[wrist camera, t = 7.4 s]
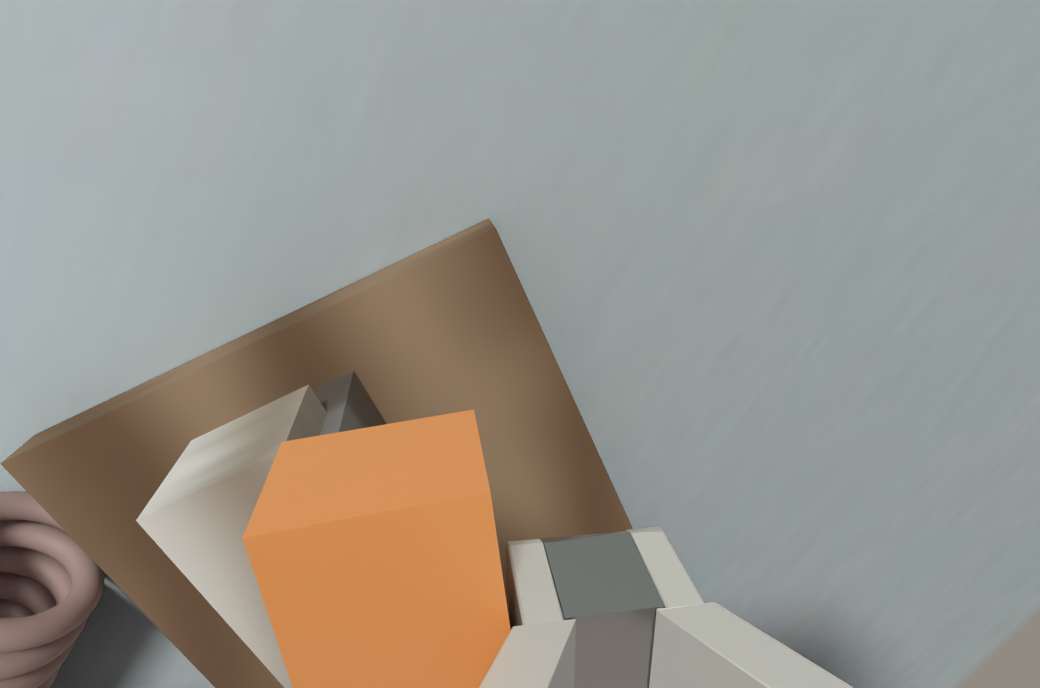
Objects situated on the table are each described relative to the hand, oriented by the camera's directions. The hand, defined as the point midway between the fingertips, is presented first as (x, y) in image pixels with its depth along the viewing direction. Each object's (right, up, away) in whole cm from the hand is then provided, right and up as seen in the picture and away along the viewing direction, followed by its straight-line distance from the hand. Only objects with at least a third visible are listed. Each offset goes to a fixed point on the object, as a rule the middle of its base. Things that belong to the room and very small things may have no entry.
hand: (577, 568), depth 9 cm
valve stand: (-3, -7, +12) cm, 15 cm away
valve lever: (-2, -5, +2) cm, 5 cm away
